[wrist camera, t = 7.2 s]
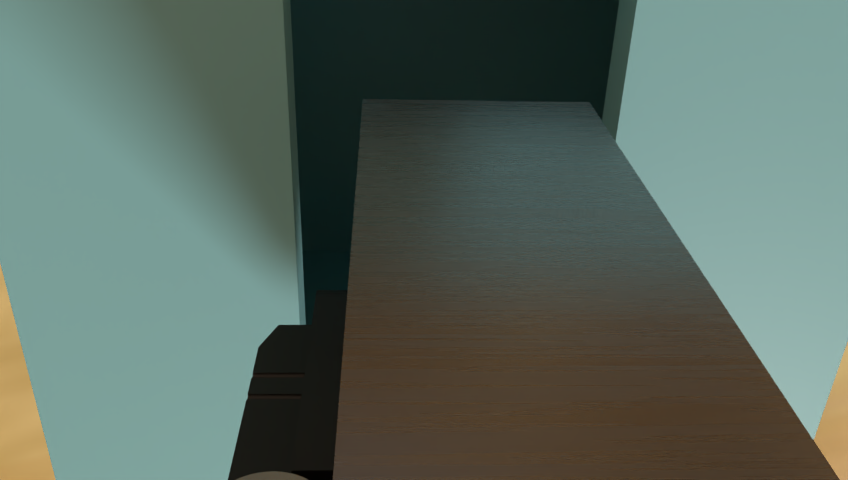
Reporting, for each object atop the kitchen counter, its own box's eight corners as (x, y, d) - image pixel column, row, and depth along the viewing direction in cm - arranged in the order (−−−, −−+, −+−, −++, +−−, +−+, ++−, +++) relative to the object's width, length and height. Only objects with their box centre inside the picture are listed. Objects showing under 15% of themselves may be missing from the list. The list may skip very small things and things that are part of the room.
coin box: (132, -260, 22) (-148, -314, 10) (719, -238, 23) (1056, -266, 11) (195, 258, 29) (74, 551, 18) (631, 260, 30) (777, 544, 19)
